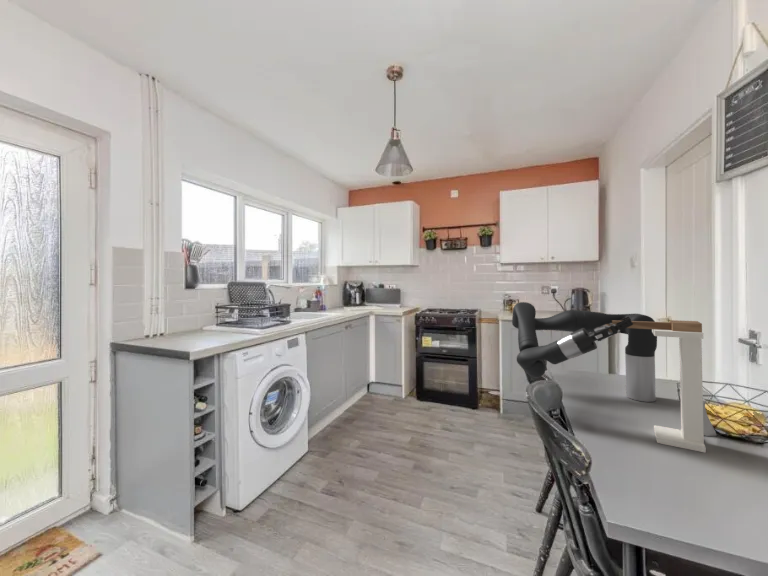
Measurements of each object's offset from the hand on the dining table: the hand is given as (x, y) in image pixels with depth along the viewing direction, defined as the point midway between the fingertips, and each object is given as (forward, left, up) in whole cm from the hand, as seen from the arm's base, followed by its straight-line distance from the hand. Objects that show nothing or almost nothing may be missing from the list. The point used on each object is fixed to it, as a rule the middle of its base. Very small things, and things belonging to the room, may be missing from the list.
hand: (630, 320), depth 100 cm
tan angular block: (0, +6, -2) cm, 7 cm away
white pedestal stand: (0, +10, -34) cm, 36 cm away
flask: (-11, +16, -35) cm, 40 cm away
